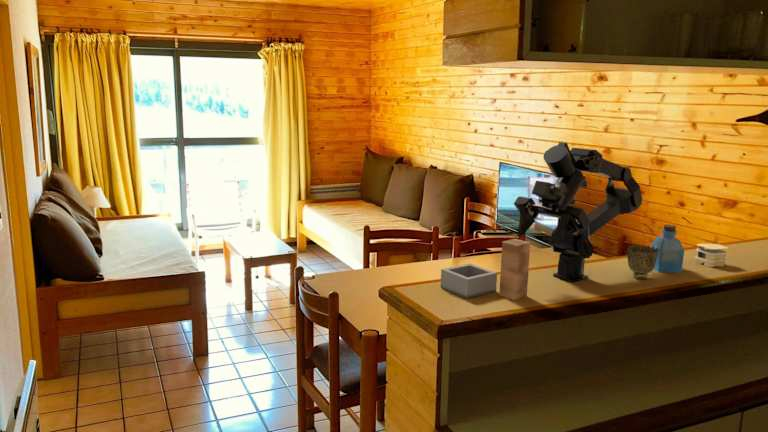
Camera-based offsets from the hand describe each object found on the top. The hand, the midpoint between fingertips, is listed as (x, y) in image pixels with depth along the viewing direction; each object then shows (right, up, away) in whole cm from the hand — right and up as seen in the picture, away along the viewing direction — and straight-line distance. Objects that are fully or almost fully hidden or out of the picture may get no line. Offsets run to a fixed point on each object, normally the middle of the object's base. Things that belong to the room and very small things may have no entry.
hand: (533, 240), depth 149 cm
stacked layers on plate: (+55, -8, +27) cm, 62 cm away
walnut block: (-5, -13, -1) cm, 14 cm away
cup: (+31, -10, +13) cm, 35 cm away
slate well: (-15, -12, +2) cm, 19 cm away
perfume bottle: (+41, -9, +21) cm, 47 cm away
